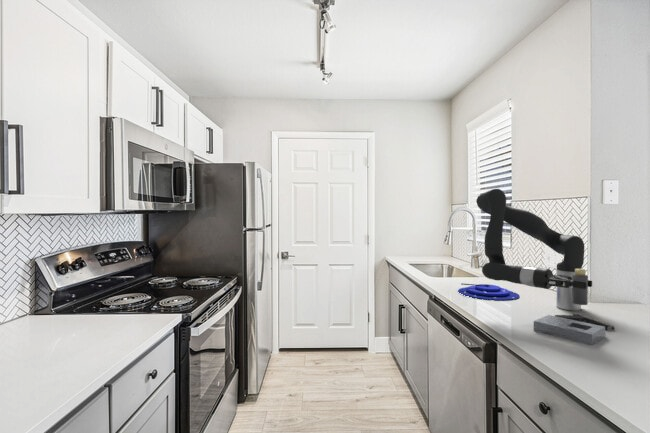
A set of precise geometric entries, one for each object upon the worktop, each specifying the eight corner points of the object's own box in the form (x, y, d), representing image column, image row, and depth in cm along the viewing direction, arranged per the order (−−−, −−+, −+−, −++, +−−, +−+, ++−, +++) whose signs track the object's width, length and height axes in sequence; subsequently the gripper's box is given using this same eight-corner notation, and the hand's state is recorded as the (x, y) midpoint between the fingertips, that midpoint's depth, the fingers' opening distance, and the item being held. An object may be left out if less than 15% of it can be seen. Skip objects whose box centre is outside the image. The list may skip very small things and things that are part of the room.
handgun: (587, 327, 128) (616, 324, 130) (552, 314, 145) (578, 312, 146) (587, 334, 128) (616, 331, 130) (553, 320, 145) (579, 318, 146)
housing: (548, 323, 138) (548, 314, 138) (605, 336, 123) (605, 326, 123) (533, 330, 130) (533, 320, 130) (592, 345, 116) (592, 334, 116)
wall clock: (533, 288, 179) (485, 292, 170) (533, 299, 179) (485, 303, 170) (489, 278, 207) (446, 281, 198) (489, 287, 207) (446, 290, 198)
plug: (574, 301, 127) (575, 267, 127) (589, 303, 123) (590, 269, 123) (569, 302, 124) (570, 269, 124) (584, 305, 121) (585, 270, 120)
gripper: (527, 269, 131) (581, 276, 117) (544, 265, 139) (596, 271, 126) (527, 289, 131) (581, 298, 117) (544, 284, 139) (596, 292, 126)
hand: (589, 284), depth 122 cm, fingers closed on plug, 4 cm apart
